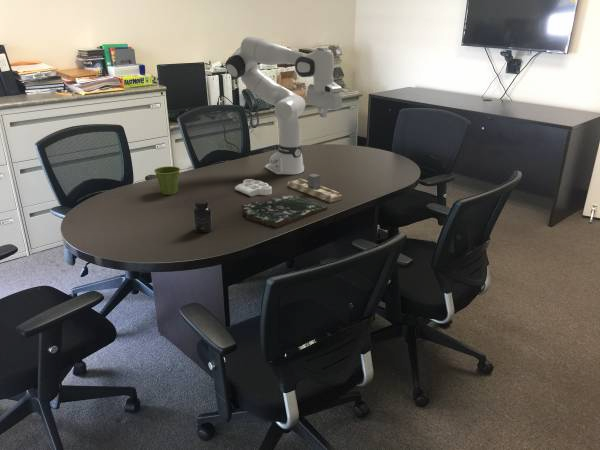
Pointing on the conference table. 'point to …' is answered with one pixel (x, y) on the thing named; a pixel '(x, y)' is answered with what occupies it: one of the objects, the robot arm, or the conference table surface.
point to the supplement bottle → (202, 217)
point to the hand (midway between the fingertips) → (322, 116)
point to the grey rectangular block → (314, 181)
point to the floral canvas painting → (281, 210)
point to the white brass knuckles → (254, 188)
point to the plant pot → (168, 179)
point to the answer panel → (315, 191)
